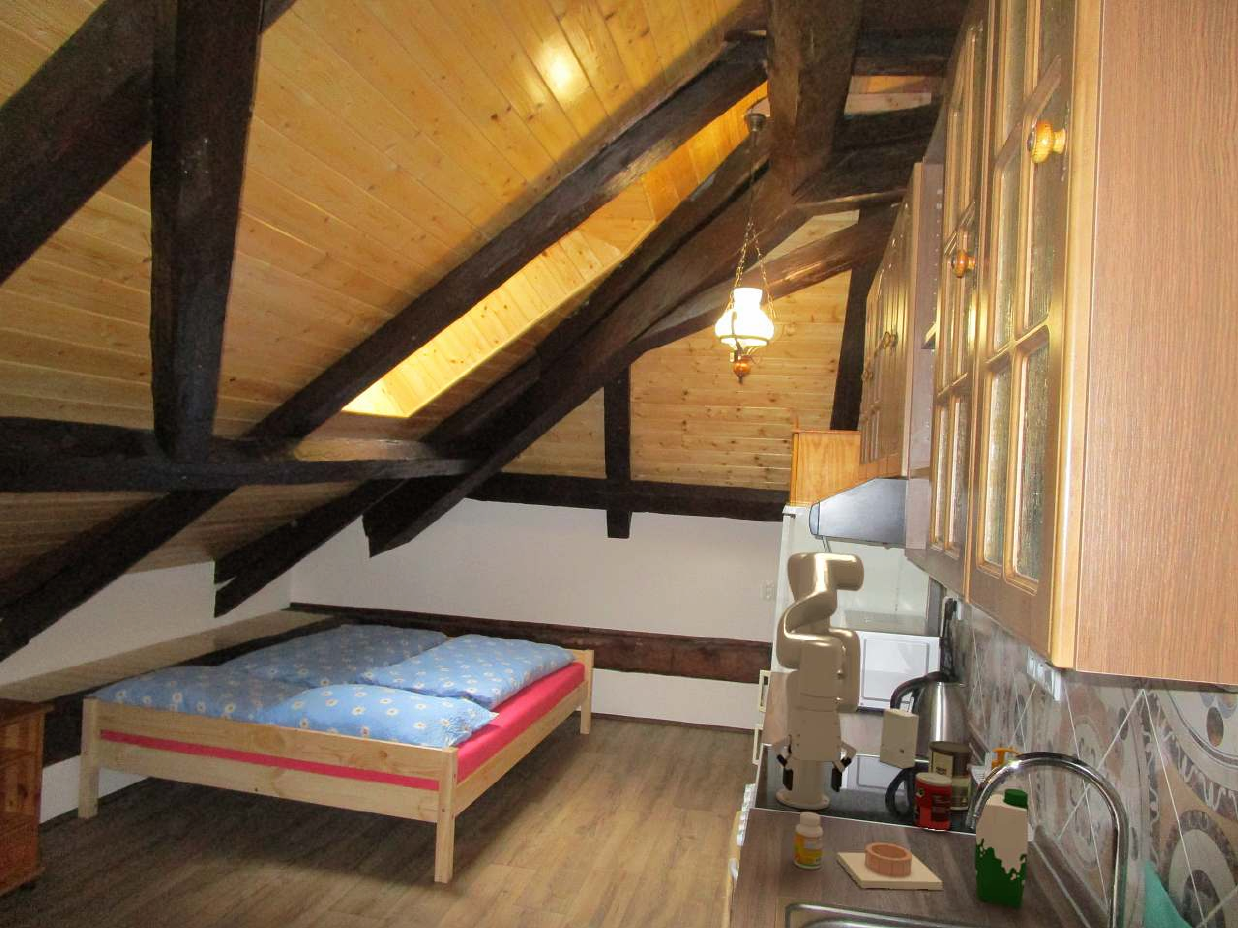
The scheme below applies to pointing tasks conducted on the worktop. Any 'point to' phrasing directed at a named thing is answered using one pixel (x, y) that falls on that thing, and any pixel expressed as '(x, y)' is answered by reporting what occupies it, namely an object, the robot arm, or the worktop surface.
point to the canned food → (932, 801)
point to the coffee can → (953, 769)
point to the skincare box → (899, 738)
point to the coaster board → (870, 878)
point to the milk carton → (1002, 848)
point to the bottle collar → (888, 859)
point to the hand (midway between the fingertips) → (811, 789)
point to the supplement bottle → (808, 841)
